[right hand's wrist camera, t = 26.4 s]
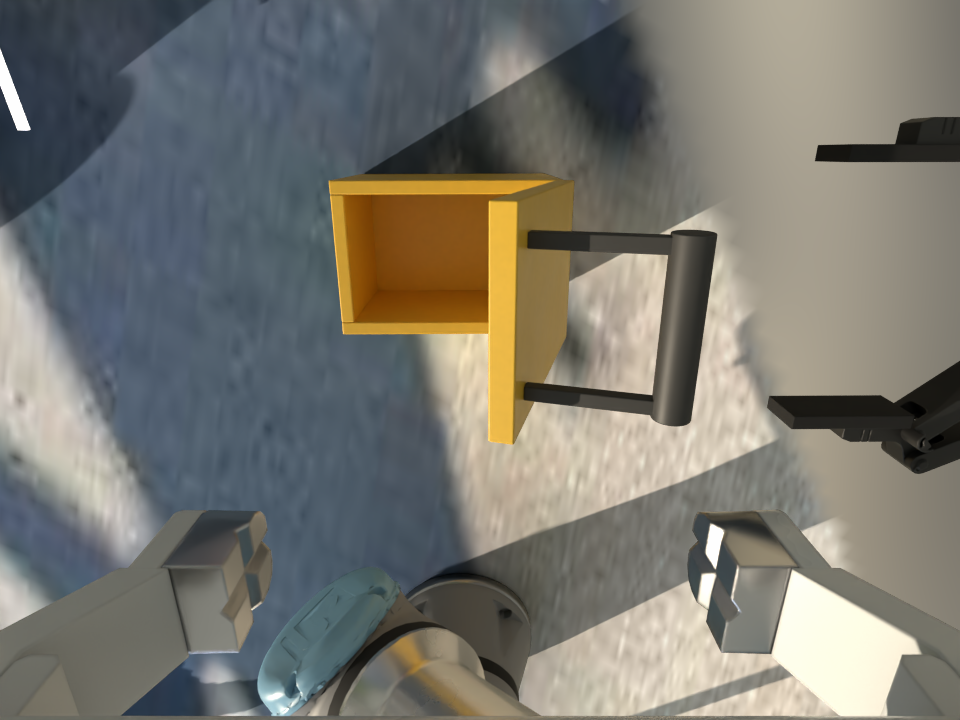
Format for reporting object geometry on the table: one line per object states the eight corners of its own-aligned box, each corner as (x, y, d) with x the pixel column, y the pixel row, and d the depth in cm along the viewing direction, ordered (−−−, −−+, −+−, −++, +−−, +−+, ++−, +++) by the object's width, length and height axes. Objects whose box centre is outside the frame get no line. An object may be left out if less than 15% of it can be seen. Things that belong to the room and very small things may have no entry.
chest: (370, 297, 49) (342, 334, 40) (361, 174, 46) (328, 180, 36) (541, 297, 49) (556, 333, 39) (545, 173, 46) (563, 179, 36)
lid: (487, 442, 25) (689, 470, 23) (488, 199, 21) (728, 204, 19) (549, 336, 39) (676, 346, 37) (555, 180, 35) (697, 181, 33)
